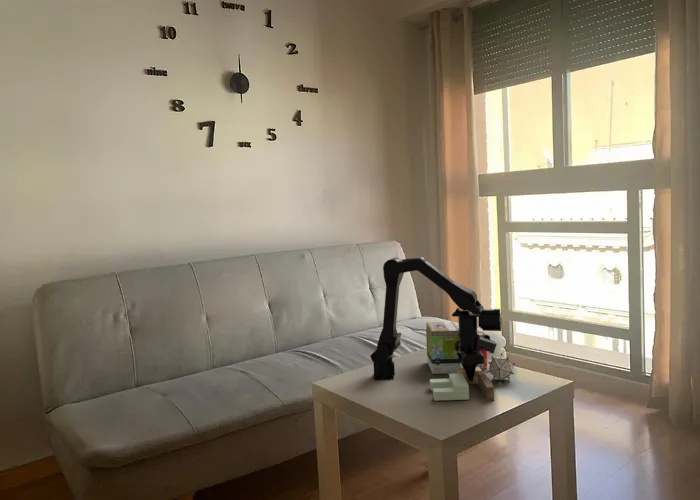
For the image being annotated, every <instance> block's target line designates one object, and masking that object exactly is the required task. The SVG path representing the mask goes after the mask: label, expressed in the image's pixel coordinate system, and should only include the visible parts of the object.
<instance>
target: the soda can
mask: <svg viewBox="0 0 700 500" xmlns="http://www.w3.org/2000/svg"><path fill="white" fill-rule="evenodd" d="M477 333H478V334H479V335H480V337H482V336H483V335H484V334H486V333H485V332H484V331H478V330H477ZM475 352H480V353H481V354H482V355H483V357H484V364H478V365H477V366H476V367H479V368H480V369H481V370H482V371H483V370H484V369H485V368H487V367H488V351H485V350H482V349H480V351H475Z"/></svg>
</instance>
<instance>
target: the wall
mask: <svg viewBox="0 0 700 500" xmlns="http://www.w3.org/2000/svg"><path fill="white" fill-rule="evenodd" d="M477 386H478V388H479V389H480V390H481V393H482V394H483V396H484V398H485V399H486V401H487V402H493V401H494V402H495V387H494V385H493V383H492V381H491V380H490V378H489V377H488V376H487V374H486V372H484V371H482V372H479V373H478V384H477Z"/></svg>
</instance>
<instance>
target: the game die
mask: <svg viewBox="0 0 700 500" xmlns="http://www.w3.org/2000/svg"><path fill="white" fill-rule="evenodd" d="M509 359H510V357H509V356H508V357H505V356H503V353H500V355H499V356H496V357H494V356H491V361H487V364H489V367H488V370H486V373H487V374H488V373H490V375H491V376H492V379H495V378H496V379H497V380H498V381H499V382H498V383H499V384H501V383H502V381H503V380H505V379H508V380H511V377H510V376H511V375H514V374H515V373H514V372H513V368H514V367H513V366H515V364H516V363H515V362H512V361H510V360H509Z"/></svg>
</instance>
